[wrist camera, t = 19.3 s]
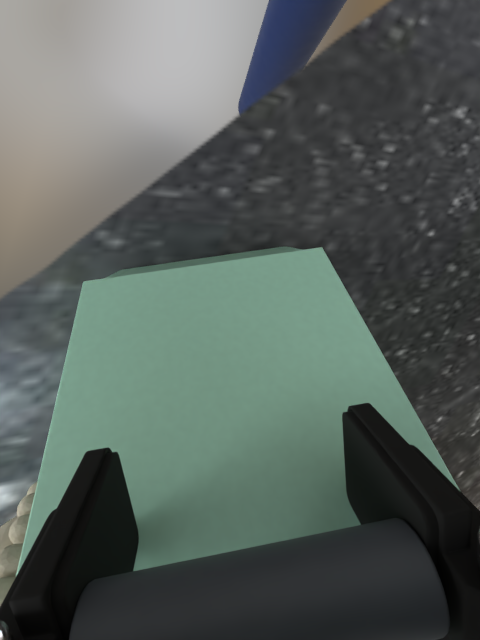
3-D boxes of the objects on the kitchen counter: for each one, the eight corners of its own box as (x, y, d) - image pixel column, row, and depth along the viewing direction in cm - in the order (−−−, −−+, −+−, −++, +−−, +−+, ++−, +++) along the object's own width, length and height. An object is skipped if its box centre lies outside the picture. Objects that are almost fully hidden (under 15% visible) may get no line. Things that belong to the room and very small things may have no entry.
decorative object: (3, 468, 31) (118, 460, 32) (5, 586, 31) (121, 574, 32) (-134, 562, 19) (64, 543, 20) (-133, 763, 18) (68, 733, 19)
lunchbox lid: (545, 675, 8) (752, 690, 5) (-19, 813, 7) (-281, 957, 4) (320, 258, 19) (332, 172, 16) (88, 292, 19) (47, 208, 15)
